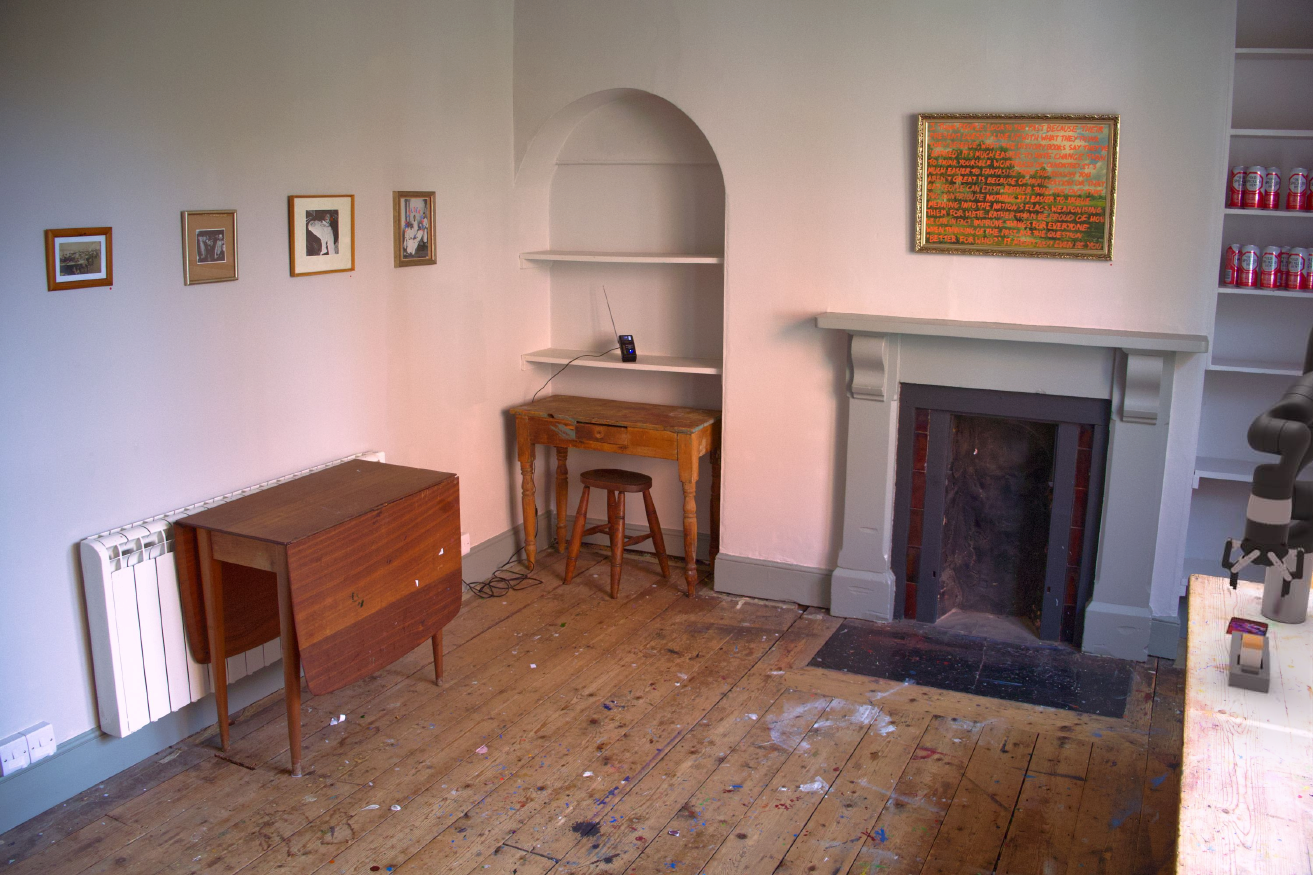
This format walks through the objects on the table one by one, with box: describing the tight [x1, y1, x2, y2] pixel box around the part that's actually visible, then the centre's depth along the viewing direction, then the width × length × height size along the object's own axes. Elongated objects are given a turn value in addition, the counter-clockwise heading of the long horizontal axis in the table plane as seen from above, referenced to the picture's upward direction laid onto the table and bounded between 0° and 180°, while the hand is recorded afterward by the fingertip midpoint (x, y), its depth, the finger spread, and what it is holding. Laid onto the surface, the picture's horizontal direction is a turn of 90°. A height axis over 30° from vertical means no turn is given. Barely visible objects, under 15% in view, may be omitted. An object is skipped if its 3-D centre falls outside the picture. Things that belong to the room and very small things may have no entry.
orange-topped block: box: [1239, 634, 1263, 669], centre depth 215 cm, size 4×4×8 cm
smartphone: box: [1225, 616, 1269, 636], centre depth 238 cm, size 8×1×15 cm
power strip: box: [1228, 631, 1271, 694], centre depth 219 cm, size 22×7×5 cm, turn 151°
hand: (1258, 592), depth 212 cm, fingers open, 8 cm apart
